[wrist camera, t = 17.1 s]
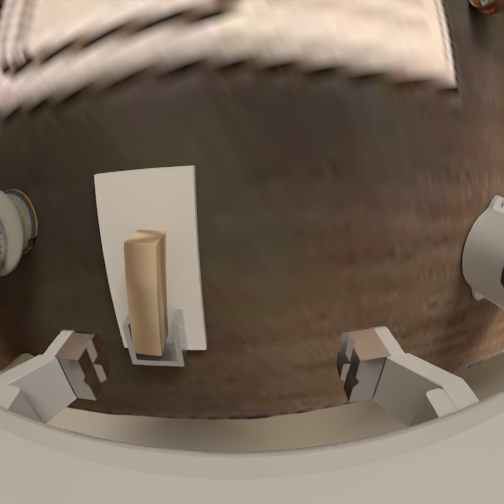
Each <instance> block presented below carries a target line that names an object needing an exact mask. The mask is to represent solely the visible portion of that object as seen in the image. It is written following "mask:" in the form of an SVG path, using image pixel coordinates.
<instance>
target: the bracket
mask: <svg viewBox="0 0 504 504" xmlns="http://www.w3.org/2000/svg"><path fill="white" fill-rule="evenodd" d="M94 179H95V191H96V202H97V211H98V219H99V227H100V234H101V241H102V248H103V254H104V260H105V265H106V271H107V276H108V281H109V286H110V291H111V295H112V300H113V304H114V309H115V313H116V317H117V321H118V325H119V329H120V333H121V336H122V340H123V344H124V347H125V348H128V349H129V352H130V356H131V359H132V363H133V364H138V365H157V366H185V361H186V356H187V350H206V347H207V340H206V330H205V320H204V309H203V298H202V286H201V273H200V260H199V244H198V228H197V208H196V184H195V166H179V167H164V168H151V169H139V170H129V171H119V172H110V173H101V174H96V175H94ZM137 230H153V231H166V285H167V317H168V336H167V339H166V342H165V346H164V349H163V353H162V356H156V355H148V354H140V353H134V349H133V342H132V334H131V327H130V318H129V310H128V300H127V289H126V276H125V260H124V242H125V241H126V240H127V239H128V238H129V237H130V236H131V235H132V234H134V233H135V232H136V231H137Z"/></svg>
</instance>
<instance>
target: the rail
mask: <svg viewBox="0 0 504 504" xmlns="http://www.w3.org/2000/svg"><path fill="white" fill-rule="evenodd" d="M124 260H125V276H126V289H127V300H128V310H129V318H130V327H131V334H132V342H133V349H134V353H140V354H148V355H156V356H162V353H163V349H164V346H165V342H166V339H167V336H168V317H167V285H166V231H153V230H137V231H136V232H135V233H134V234H132V235H131V236H130V237H129V238H128V239H127V240H126V241H125V242H124Z"/></svg>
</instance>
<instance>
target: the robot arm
mask: <svg viewBox="0 0 504 504" xmlns="http://www.w3.org/2000/svg"><path fill="white" fill-rule="evenodd" d="M462 270H463V275H464V278H465V280H466V282H467V283H468V284H469V285H470V287H471V288H472V294H473V297H474V298H475V299H477V300H480V299H483V298H486V299H488V300H489V301H491V302H493V303H494V304H496V305H497V306H499V307H501V308H502V309H504V198H502V197H500V196H498V195H495V196H494V197H493V199H492V201H491V203H490V205H489V207H488V208H487V210H486V211H485V212H483V213H482V214H481V215H480V216H479V217H478V219H477V220H476V221H475V223H474V224H473V226H472V228H471V230H470V232H469V234H468V237H467V240H466V243H465V246H464V251H463V257H462ZM340 343H341V345H342V347H343V348H342V349H341V350H340V351H339V352H338V357H337V369H338V374H339V377H340V379H342V380H343V381H345V384H344V390H345V393H346V395H347V398H348V401H349V402H352V401H359V400H366V399H372V398H373V400H374V401H375V402H377V403H378V404H379V405H380V406H382V407H383V408H384V409H386V410H387V411H388V412H389V413H390V414H392V415H393V416H394V417H396V418H397V419H398V420H400V421H401V422H402V423H403V424H405V425H406V426H407V427H408V428H404V429H400V430H397V431H393V432H389V433H385V434H381V435H377V436H372V437H367V438H363V439H358V440H353V441H347V442H342V443H336V444H330V445H322V446H316V447H307V448H299V449H288V450H274V451H254V452H210V451H209V452H208V451H190V450H177V449H166V448H156V447H149V446H142V445H135V444H129V443H123V442H117V441H112V440H107V439H102V438H98V437H93V436H89V435H85V434H81V433H77V432H72V431H69V430H66V429H62V428H59V427H55V426H52V425H49V424H46V423H47V422H48V421H49V420H51V419H52V418H53V417H54V416H55V415H57V414H58V413H59V412H60V411H62V410H63V409H64V408H65V407H67V406H68V405H69V404H70V403H72V402H73V401H74V400H75V399H76V397H78V398H84V399H91V400H97V398H98V396H99V394H100V392H101V390H102V388H103V387H102V384H101V382H103V381H104V380H106V379H107V377H108V375H109V372H110V360H109V357H108V354H107V353H106V352H105V351H104V350H103V349H102V347H103V345H104V342H103V340H102V337H101V336H100V335H99V334H96V333H87V332H79V331H69V330H64V331H61V333H60V334H59V335H58V336H57V338H56V339H55V340H54V341H53V343H52V344H51V345H50V346H49V348H48V349H47V350H46V352H45V353H44V354H43V355H38V356H36V357H34V358H32V359H30V360H28V361H26V362H24V363H22V364H20V365H18V366H16V367H14V368H12V369H10V370H8V371H6V372H4V373H2V374H0V504H504V390H503V391H501V392H499V393H497V394H495V395H493V396H491V397H488V398H486V399H484V400H482V401H479V400H478V399H477V398H476V396H475V395H474V393H473V392H472V391H471V390H470V388H469V387H468V385H467V384H466V382H465V381H464V380H463V379H462V378H459V377H457V376H455V375H453V374H451V373H449V372H447V371H445V370H443V369H440V368H438V367H436V366H434V365H432V364H430V363H428V362H426V361H424V360H422V359H420V358H418V357H416V356H414V355H411V354H409V353H407V354H405V353H404V352H403V350H402V349H401V347H400V346H399V344H398V343H397V341H396V340H395V339H394V337H393V336H392V334H391V333H390V331H389V330H388V329H387V327H385V326H381V327H375V328H371V329H364V330H355V331H346V332H343V333H342V335H341V340H340Z"/></svg>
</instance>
